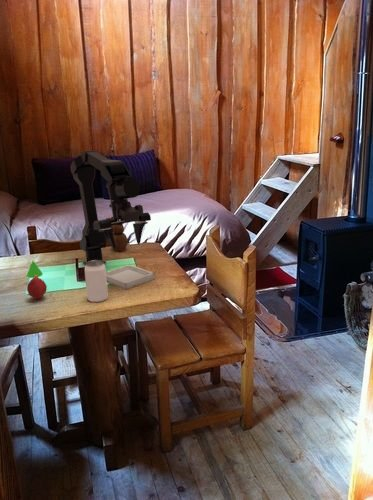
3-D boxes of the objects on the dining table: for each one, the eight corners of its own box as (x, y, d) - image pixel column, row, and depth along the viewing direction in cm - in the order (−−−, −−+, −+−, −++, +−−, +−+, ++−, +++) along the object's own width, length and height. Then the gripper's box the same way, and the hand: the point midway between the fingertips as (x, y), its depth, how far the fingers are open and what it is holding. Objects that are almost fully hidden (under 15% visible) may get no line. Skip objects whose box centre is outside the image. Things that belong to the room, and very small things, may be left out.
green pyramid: (44, 276, 166) (42, 260, 165) (27, 279, 164) (25, 263, 162) (41, 271, 172) (39, 256, 170) (24, 274, 169) (22, 258, 167)
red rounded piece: (37, 304, 143) (34, 280, 141) (24, 300, 146) (21, 276, 143) (51, 297, 148) (48, 274, 145) (39, 294, 151) (36, 271, 148)
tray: (100, 279, 162) (100, 273, 161) (129, 269, 171) (129, 264, 170) (125, 289, 153) (125, 283, 152) (154, 279, 161) (154, 273, 161)
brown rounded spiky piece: (130, 250, 194) (128, 215, 189) (119, 253, 190) (117, 218, 185) (120, 247, 198) (117, 213, 194) (109, 250, 194) (106, 215, 190)
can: (103, 303, 143) (100, 267, 139) (84, 302, 144) (80, 265, 140) (110, 295, 149) (108, 260, 145) (92, 293, 150) (89, 259, 146)
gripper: (103, 202, 139) (112, 252, 141) (155, 194, 149) (163, 241, 151) (88, 204, 148) (97, 251, 150) (139, 196, 159) (146, 241, 161)
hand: (126, 246), depth 153 cm, fingers open, 9 cm apart
